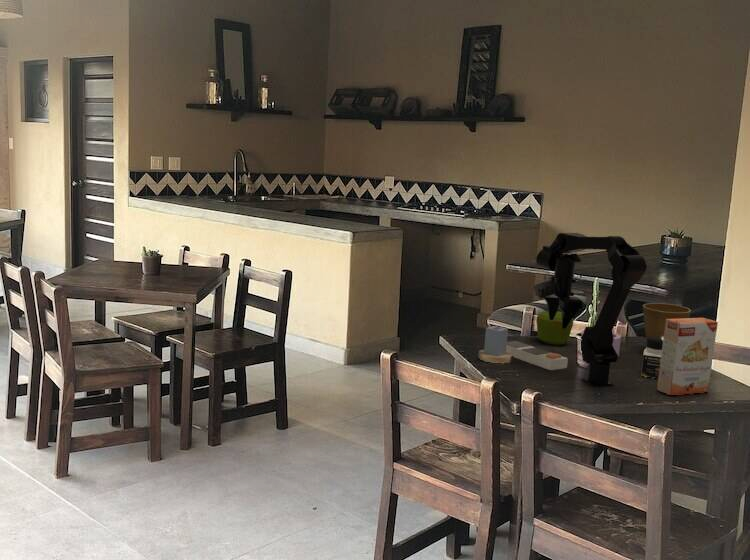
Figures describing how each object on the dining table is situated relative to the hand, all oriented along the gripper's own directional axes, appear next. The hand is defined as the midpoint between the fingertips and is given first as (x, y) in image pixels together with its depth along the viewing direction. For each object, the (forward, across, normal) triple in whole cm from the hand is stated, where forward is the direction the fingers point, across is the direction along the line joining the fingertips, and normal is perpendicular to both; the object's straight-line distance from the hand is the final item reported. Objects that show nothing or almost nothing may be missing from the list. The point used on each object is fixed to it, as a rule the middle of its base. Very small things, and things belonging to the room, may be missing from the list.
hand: (557, 324), depth 244 cm
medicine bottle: (+12, +12, +27) cm, 32 cm away
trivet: (+14, -5, -17) cm, 22 cm away
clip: (+14, -14, +23) cm, 30 cm away
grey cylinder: (+12, -6, -17) cm, 21 cm away
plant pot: (+13, -12, +45) cm, 48 cm away
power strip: (+13, -5, -4) cm, 15 cm away
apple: (+14, -27, +12) cm, 33 cm away
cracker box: (+11, +28, +27) cm, 41 cm away
